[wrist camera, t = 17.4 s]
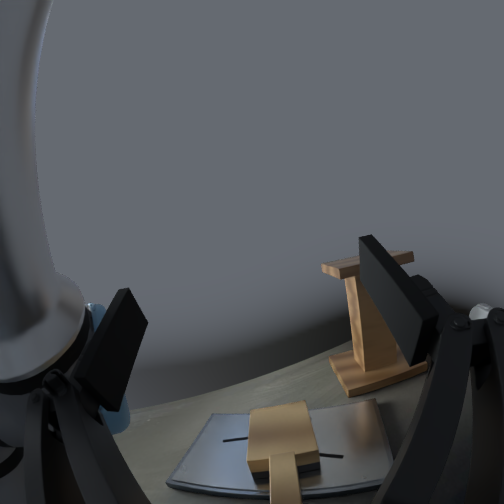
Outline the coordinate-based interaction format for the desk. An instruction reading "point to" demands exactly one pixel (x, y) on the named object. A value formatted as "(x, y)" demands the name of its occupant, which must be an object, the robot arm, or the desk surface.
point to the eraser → (282, 449)
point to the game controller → (480, 311)
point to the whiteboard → (311, 482)
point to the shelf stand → (368, 335)
